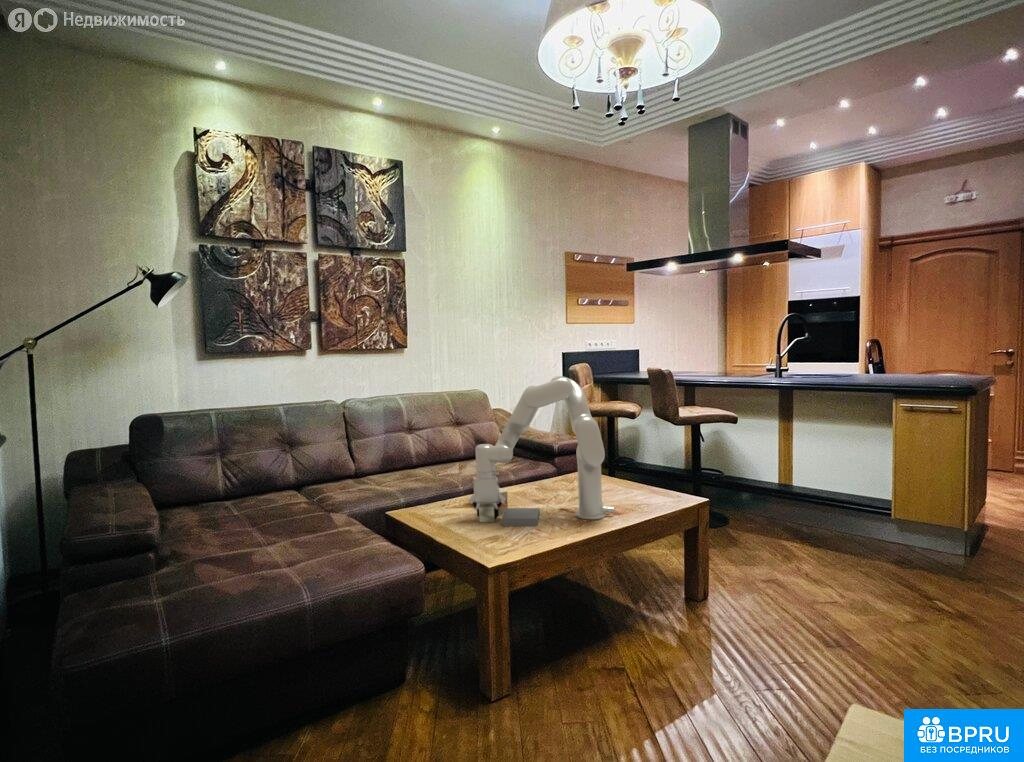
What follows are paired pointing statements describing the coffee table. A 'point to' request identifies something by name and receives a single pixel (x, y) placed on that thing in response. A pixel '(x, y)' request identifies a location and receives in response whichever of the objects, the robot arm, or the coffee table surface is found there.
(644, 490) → the coffee table surface
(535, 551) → the coffee table surface
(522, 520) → the plinth
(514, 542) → the coffee table surface
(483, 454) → the robot arm
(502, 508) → the stack of blocks
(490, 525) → the coffee table surface
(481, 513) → the sage cube
